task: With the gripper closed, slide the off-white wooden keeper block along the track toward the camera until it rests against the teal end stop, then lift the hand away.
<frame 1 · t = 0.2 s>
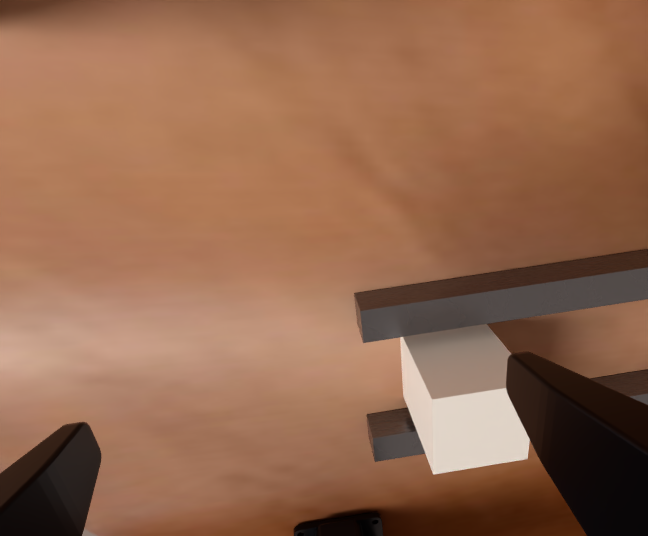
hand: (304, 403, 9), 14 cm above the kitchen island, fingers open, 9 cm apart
track: (566, 339, 27), on the kitchen island
keeper block: (441, 358, 26), resting in track
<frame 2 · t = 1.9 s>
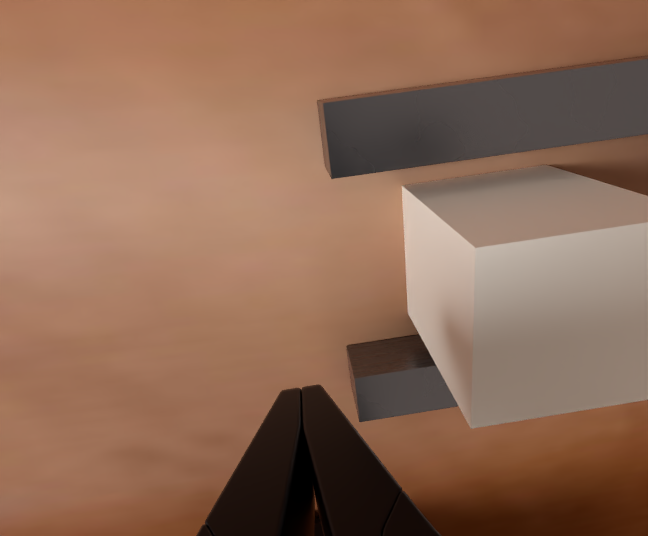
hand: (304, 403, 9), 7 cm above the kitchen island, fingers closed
keeper block: (472, 243, 15), resting in track
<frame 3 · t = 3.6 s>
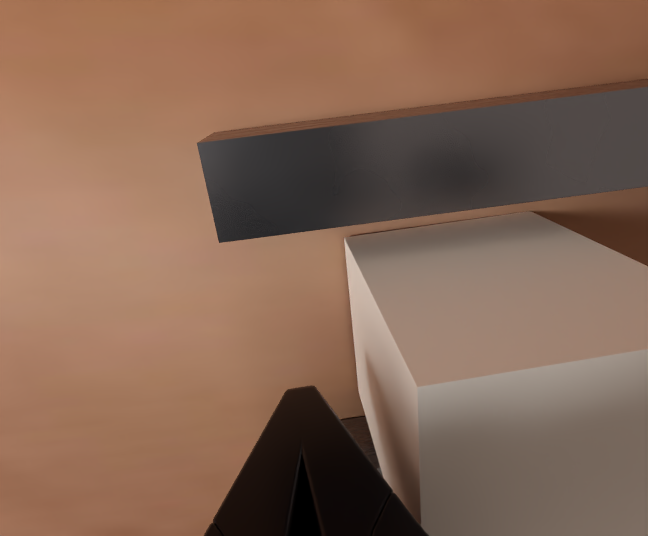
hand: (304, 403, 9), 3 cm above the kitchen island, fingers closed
keeper block: (438, 307, 12), resting in track, touching gripper
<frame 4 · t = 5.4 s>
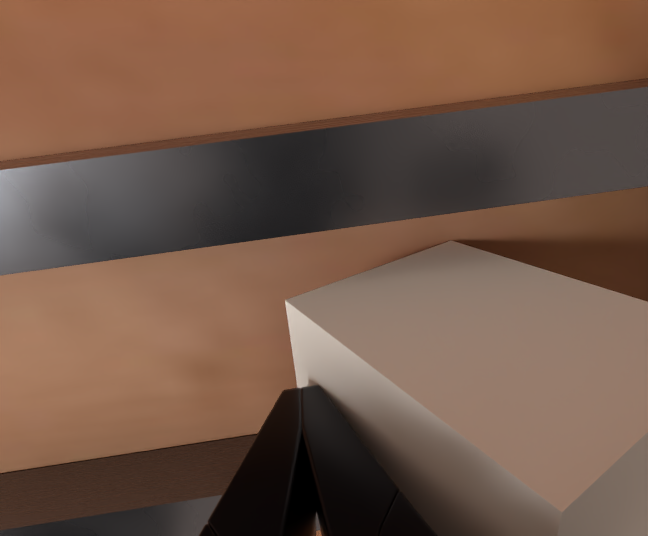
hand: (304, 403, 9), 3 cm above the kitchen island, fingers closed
track: (353, 323, 12), on the kitchen island
keeper block: (381, 354, 11), point 1 cm above the kitchen island, tilted 27°, touching gripper
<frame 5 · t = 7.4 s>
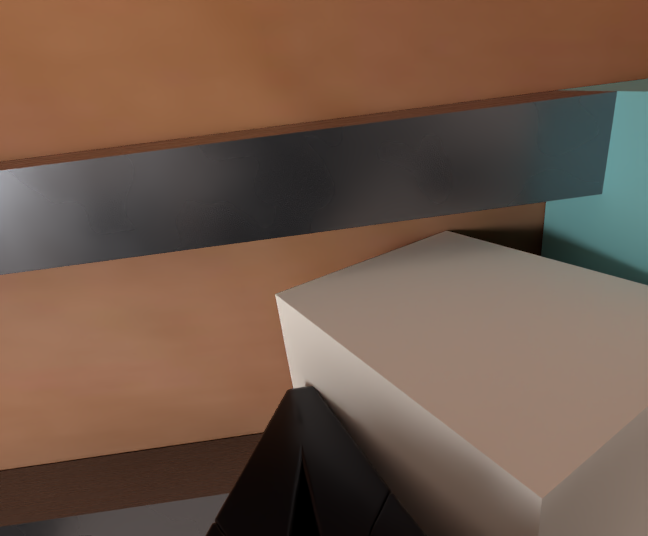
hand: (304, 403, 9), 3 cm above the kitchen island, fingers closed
track: (79, 361, 12), on the kitchen island
keeper block: (378, 347, 11), point 1 cm above the kitchen island, tilted 27°, touching gripper, track
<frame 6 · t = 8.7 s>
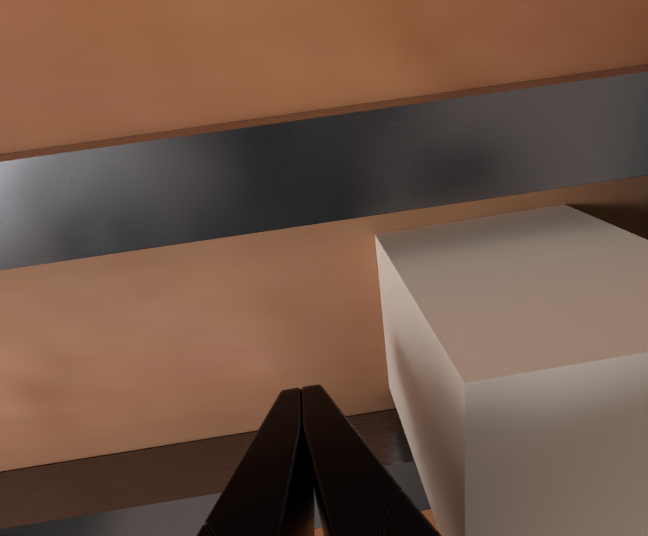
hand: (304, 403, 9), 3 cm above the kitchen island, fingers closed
track: (187, 343, 12), on the kitchen island
keeper block: (469, 302, 12), resting in track
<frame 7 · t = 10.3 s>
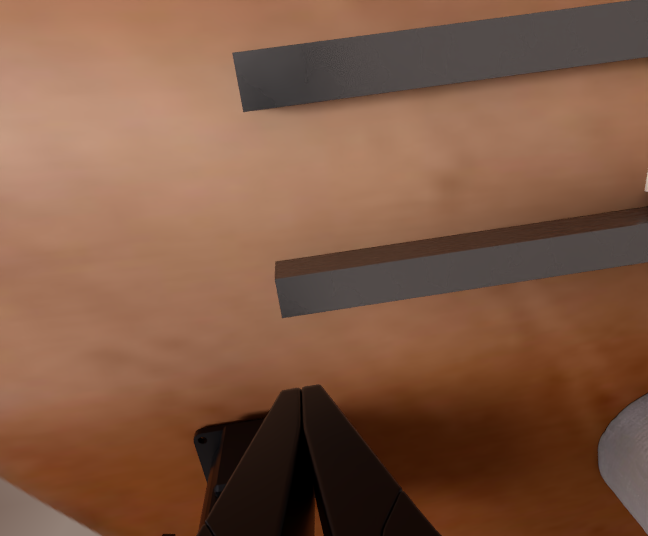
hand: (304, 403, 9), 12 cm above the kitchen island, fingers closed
track: (541, 151, 20), on the kitchen island
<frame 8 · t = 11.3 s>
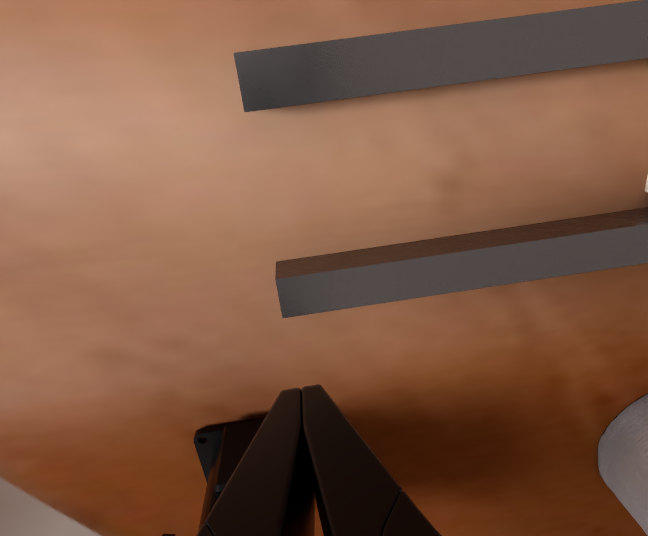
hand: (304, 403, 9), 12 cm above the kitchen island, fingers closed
track: (542, 152, 20), on the kitchen island
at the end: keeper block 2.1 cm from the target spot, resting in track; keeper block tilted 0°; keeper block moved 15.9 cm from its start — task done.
